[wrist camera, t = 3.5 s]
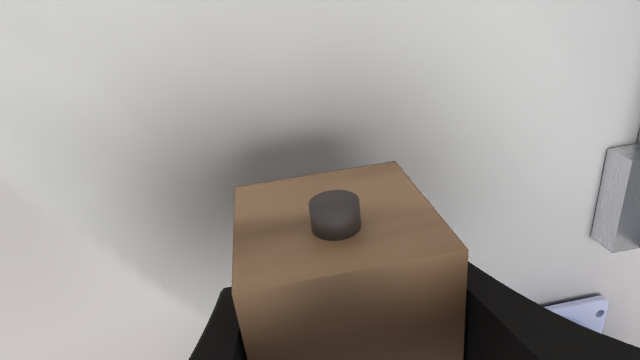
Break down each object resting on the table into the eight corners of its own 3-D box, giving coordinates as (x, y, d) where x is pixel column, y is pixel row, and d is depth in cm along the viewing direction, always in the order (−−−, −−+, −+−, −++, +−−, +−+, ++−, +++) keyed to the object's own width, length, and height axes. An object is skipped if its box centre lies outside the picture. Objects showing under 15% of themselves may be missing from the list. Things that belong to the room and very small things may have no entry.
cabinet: (399, 287, 16) (461, 409, 12) (261, 314, 16) (269, 452, 11) (394, 140, 14) (469, 221, 9) (230, 166, 13) (224, 265, 9)
